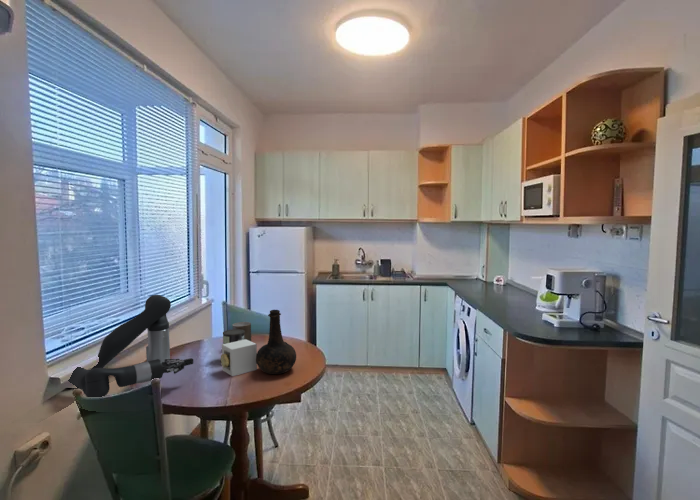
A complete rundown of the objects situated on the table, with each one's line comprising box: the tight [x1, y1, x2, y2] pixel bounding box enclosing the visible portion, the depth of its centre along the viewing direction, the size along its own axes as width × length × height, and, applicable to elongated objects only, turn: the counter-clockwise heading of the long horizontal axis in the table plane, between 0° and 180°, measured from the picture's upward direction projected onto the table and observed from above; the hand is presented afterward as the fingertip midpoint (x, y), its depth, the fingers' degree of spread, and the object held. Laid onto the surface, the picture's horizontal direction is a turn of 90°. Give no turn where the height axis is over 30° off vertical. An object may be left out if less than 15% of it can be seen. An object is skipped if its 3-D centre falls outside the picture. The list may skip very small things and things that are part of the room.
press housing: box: [221, 339, 258, 377], centre depth 176 cm, size 12×10×12 cm
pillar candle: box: [232, 321, 252, 342], centre depth 207 cm, size 10×10×15 cm
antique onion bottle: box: [256, 309, 297, 375], centre depth 174 cm, size 18×18×28 cm
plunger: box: [220, 353, 230, 368], centre depth 175 cm, size 12×6×6 cm, turn 133°
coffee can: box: [222, 328, 245, 344], centre depth 190 cm, size 10×10×14 cm
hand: (192, 360), depth 161 cm, fingers closed
